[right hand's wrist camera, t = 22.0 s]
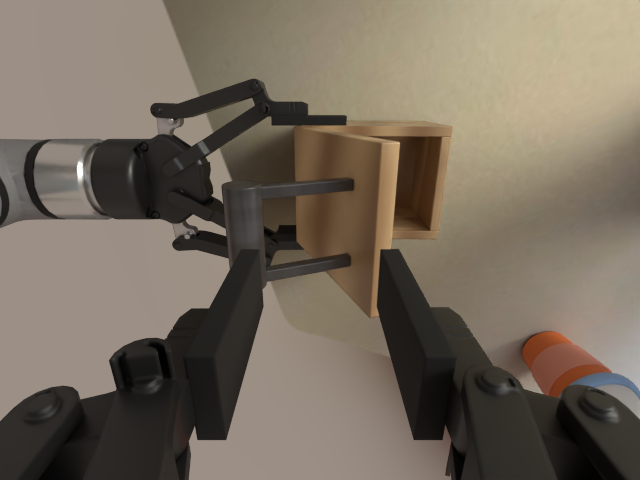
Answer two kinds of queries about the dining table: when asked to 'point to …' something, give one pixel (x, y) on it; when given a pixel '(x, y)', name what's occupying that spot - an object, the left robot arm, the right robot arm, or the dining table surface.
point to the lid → (326, 210)
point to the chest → (412, 171)
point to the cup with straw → (574, 369)
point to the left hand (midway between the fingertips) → (343, 179)
